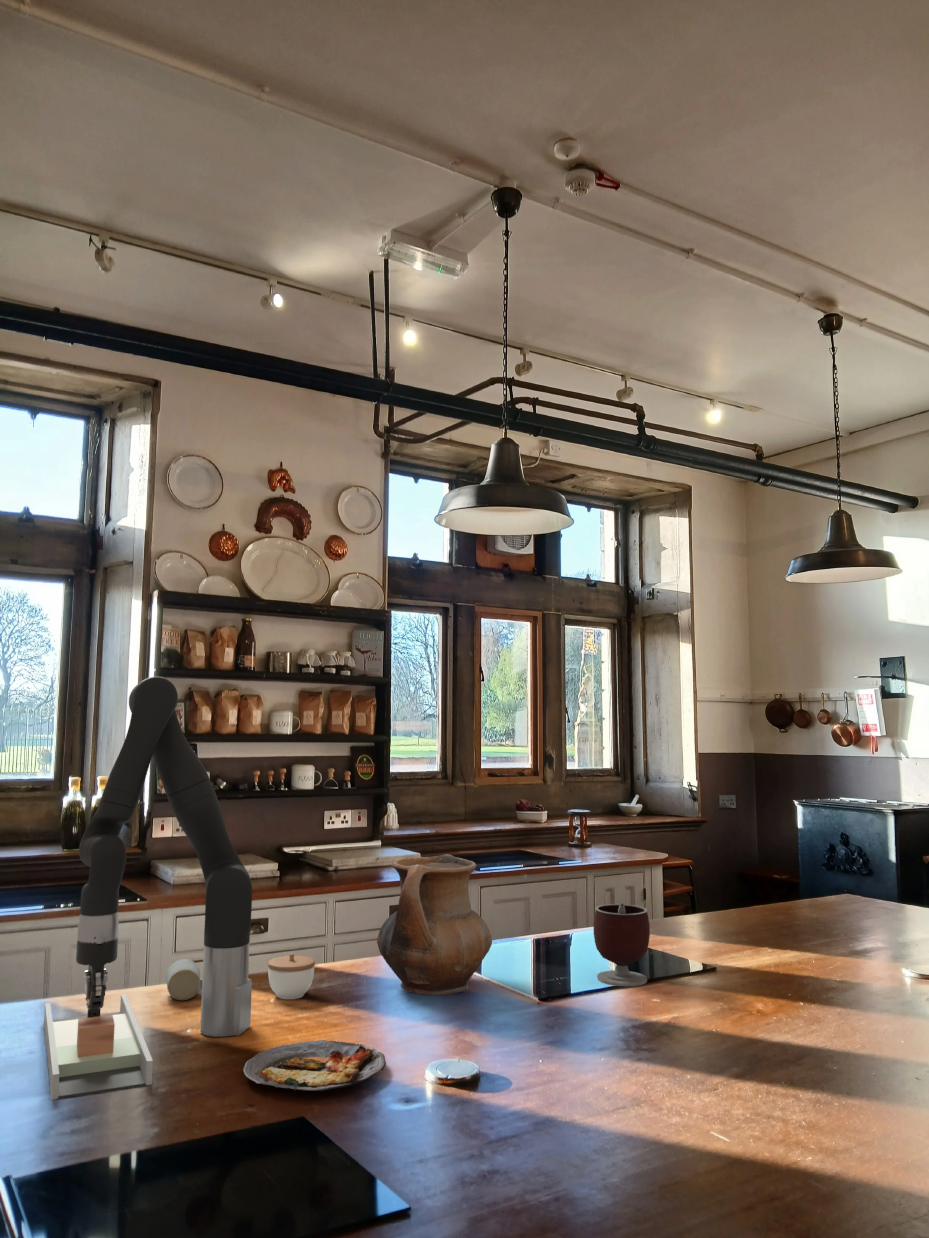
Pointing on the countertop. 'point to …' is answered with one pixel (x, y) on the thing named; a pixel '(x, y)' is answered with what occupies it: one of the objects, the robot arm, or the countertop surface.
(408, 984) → the jug
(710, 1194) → the countertop surface
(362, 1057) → the food plate
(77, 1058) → the pad
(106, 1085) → the trap channel
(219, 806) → the robot arm
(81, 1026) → the block
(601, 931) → the mate gourd
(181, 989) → the ceramic mug
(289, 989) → the lidded jar
